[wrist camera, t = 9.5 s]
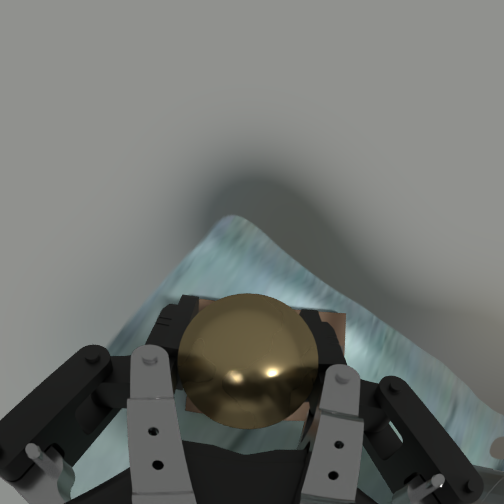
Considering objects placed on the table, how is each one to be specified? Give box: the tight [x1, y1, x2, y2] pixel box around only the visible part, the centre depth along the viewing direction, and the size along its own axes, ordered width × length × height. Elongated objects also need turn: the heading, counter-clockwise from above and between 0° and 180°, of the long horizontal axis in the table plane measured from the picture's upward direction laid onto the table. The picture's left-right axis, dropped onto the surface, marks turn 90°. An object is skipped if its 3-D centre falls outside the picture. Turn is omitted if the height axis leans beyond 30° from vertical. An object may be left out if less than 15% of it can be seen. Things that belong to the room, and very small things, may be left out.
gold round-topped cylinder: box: [178, 293, 318, 429], centre depth 12 cm, size 5×5×8 cm
